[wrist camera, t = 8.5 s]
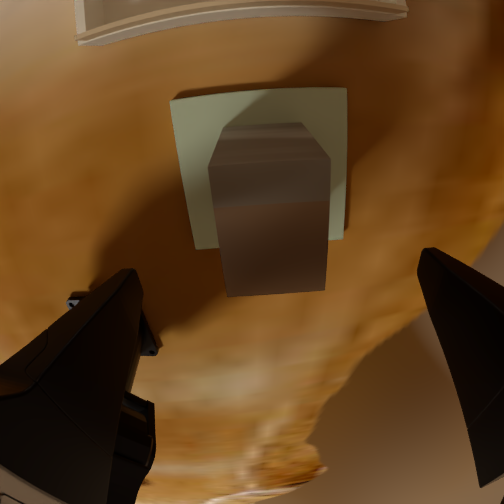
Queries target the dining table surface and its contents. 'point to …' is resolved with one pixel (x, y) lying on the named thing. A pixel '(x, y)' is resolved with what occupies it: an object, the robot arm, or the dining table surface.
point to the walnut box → (271, 208)
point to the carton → (209, 14)
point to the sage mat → (254, 113)
